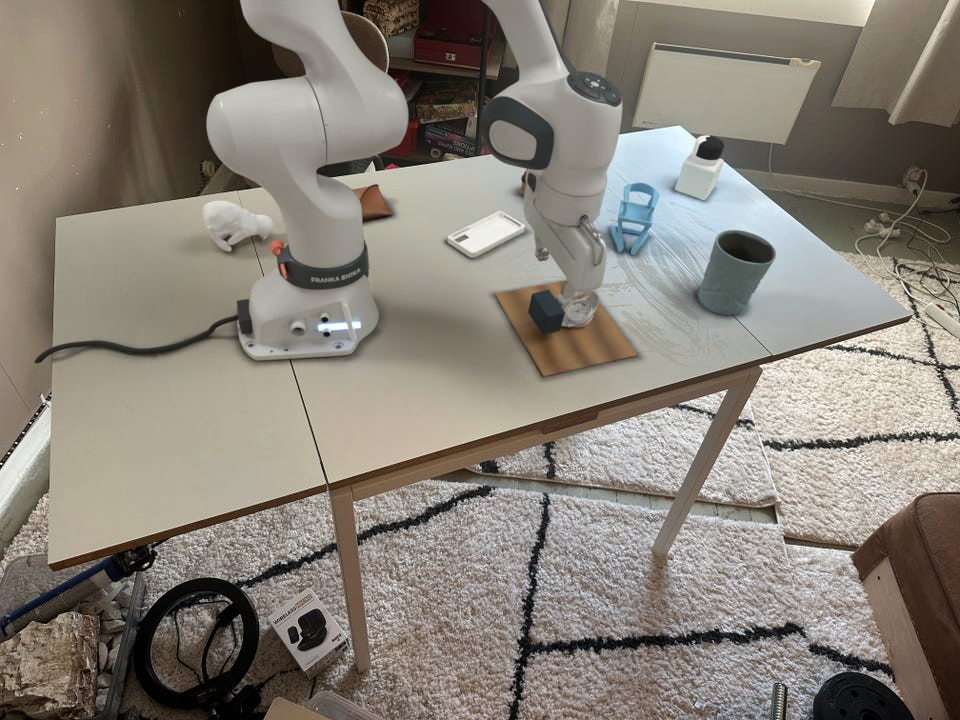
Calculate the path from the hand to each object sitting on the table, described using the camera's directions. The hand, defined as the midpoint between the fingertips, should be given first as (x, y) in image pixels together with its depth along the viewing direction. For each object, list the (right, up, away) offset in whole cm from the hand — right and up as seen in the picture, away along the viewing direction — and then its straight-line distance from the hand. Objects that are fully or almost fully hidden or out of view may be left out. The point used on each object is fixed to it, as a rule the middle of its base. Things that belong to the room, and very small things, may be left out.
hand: (553, 276), depth 99 cm
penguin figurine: (-56, +9, +21) cm, 60 cm away
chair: (+18, +11, +30) cm, 37 cm away
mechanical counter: (+4, +23, +41) cm, 47 cm away
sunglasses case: (-38, +16, +30) cm, 51 cm away
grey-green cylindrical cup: (+33, -2, +19) cm, 38 cm away
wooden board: (+3, -7, +11) cm, 13 cm away
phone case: (-10, +11, +28) cm, 32 cm away
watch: (-2, -6, +5) cm, 8 cm away
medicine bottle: (+37, +26, +47) cm, 66 cm away
